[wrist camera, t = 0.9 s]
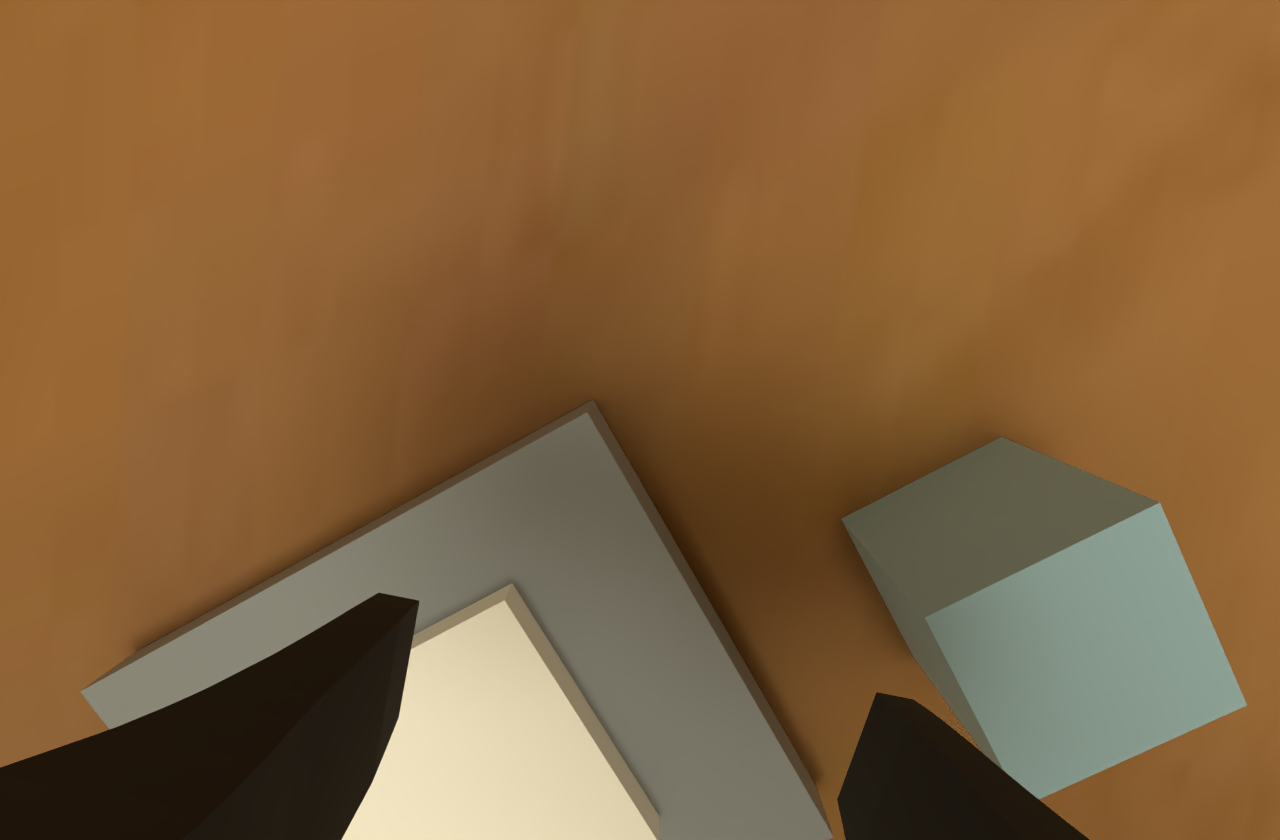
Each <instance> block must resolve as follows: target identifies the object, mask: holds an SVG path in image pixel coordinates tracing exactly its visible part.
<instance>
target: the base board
mask: <svg viewBox="0 0 1280 840" xmlns="http://www.w3.org/2000/svg"><path fill="white" fill-rule="evenodd" d="M377 593H384V594H389V595H394V596H399V597H404V598H409V599H414V600H419V607H418V613H417V618H416V624H415V629H414V635H413V641H412V646H411V652H410V657H409V663H408V668H407V674H406V680H405V685H404V691H403V696H402V702H401V707H400V713H399V718H398V721H397V723H396V726H395V728H394V731H393V733H392V736H391V738H390V741H389V743H388V746H387V748H386V751H385V753H384V755H383V758H382V760H381V763H380V765H379V767H378V770H377V772H376V775H375V777H374V779H373V782H372V784H371V786H370V788H369V790H368V791H367V793H366V795H365V797H364V799H363V801H362V803H361V804H360V806H359V808H358V810H357V812H356V814H355V816H354V817H353V819H352V821H351V823H350V825H349V827H348V829H347V830H346V832H345V834H344V836H343V838H342V840H829V839H831V838H833V834H832V831H831V828H830V825H829V822H828V819H827V816H826V813H825V811H824V808H823V805H822V802H821V799H820V796H819V793H818V790H817V787H816V785H815V783H814V782H813V780H812V778H811V776H810V775H809V773H808V771H807V769H806V768H805V766H804V764H803V763H802V761H801V759H800V757H799V756H798V754H797V752H796V750H795V749H794V747H793V745H792V743H791V742H790V740H789V738H788V736H787V735H786V733H785V731H784V730H783V728H782V726H781V724H780V723H779V721H778V719H777V717H776V716H775V714H774V712H773V710H772V709H771V707H770V705H769V704H768V702H767V700H766V698H765V697H764V695H763V693H762V691H761V690H760V688H759V686H758V684H757V683H756V681H755V679H754V677H753V676H752V674H751V672H750V671H749V669H748V667H747V665H746V664H745V662H744V660H743V658H742V657H741V655H740V653H739V651H738V650H737V648H736V646H735V645H734V643H733V641H732V639H731V638H730V636H729V634H728V632H727V631H726V629H725V627H724V625H723V624H722V622H721V620H720V618H719V617H718V615H717V613H716V612H715V610H714V608H713V606H712V605H711V603H710V601H709V599H708V598H707V596H706V594H705V592H704V591H703V589H702V587H701V586H700V584H699V582H698V580H697V579H696V577H695V575H694V573H693V572H692V570H691V568H690V566H689V565H688V563H687V561H686V559H685V558H684V556H683V554H682V553H681V551H680V549H679V547H678V546H677V544H676V542H675V540H674V539H673V537H672V535H671V533H670V532H669V530H668V528H667V527H666V525H665V523H664V521H663V520H662V518H661V516H660V514H659V513H658V511H657V509H656V507H655V506H654V504H653V502H652V500H651V499H650V497H649V495H648V494H647V492H646V490H645V488H644V487H643V485H642V483H641V481H640V480H639V478H638V476H637V474H636V473H635V471H634V469H633V468H632V466H631V464H630V462H629V461H628V459H627V457H626V455H625V454H624V452H623V450H622V448H621V447H620V445H619V443H618V441H617V440H616V438H615V436H614V435H613V433H612V431H611V429H610V428H609V426H608V424H607V422H606V421H605V419H604V417H603V415H602V414H601V412H600V410H599V409H598V407H597V405H596V403H595V402H594V400H591V401H589V402H587V403H586V404H584V405H582V406H580V407H578V408H576V409H575V410H573V411H571V412H569V413H567V414H566V415H564V416H562V417H560V418H558V419H557V420H555V421H553V422H551V423H549V424H548V425H546V426H544V427H542V428H540V429H538V430H537V431H535V432H533V433H531V434H529V435H528V436H526V437H524V438H522V439H520V440H519V441H517V442H515V443H513V444H511V445H510V446H508V447H506V448H504V449H502V450H500V451H499V452H497V453H495V454H493V455H491V456H490V457H488V458H486V459H484V460H482V461H481V462H479V463H477V464H475V465H473V466H472V467H470V468H468V469H466V470H464V471H462V472H461V473H459V474H457V475H455V476H453V477H452V478H450V479H448V480H446V481H444V482H443V483H441V484H439V485H437V486H435V487H434V488H432V489H430V490H428V491H426V492H424V493H423V494H421V495H419V496H417V497H415V498H414V499H412V500H410V501H408V502H406V503H405V504H403V505H401V506H399V507H397V508H396V509H394V510H392V511H390V512H388V513H386V514H385V515H383V516H381V517H379V518H377V519H376V520H374V521H372V522H370V523H368V524H367V525H365V526H363V527H361V528H359V529H358V530H356V531H354V532H352V533H350V534H349V535H347V536H345V537H343V538H341V539H339V540H338V541H336V542H334V543H332V544H330V545H329V546H327V547H325V548H323V549H321V550H320V551H318V552H316V553H314V554H312V555H311V556H309V557H307V558H305V559H303V560H301V561H300V562H298V563H296V564H294V565H292V566H291V567H289V568H287V569H285V570H283V571H282V572H280V573H278V574H276V575H274V576H273V577H271V578H269V579H267V580H265V581H263V582H262V583H260V584H258V585H256V586H254V587H253V588H251V589H249V590H247V591H245V592H244V593H242V594H240V595H238V596H236V597H235V598H233V599H231V600H229V601H227V602H225V603H224V604H222V605H220V606H218V607H216V608H215V609H213V610H211V611H209V612H207V613H206V614H204V615H202V616H200V617H198V618H197V619H195V620H193V621H191V622H189V623H187V624H186V625H184V626H182V627H180V628H178V629H177V630H175V631H173V632H171V633H169V634H168V635H166V636H164V637H162V638H160V639H159V640H157V641H155V642H153V643H151V644H149V645H148V646H146V647H144V648H142V649H140V650H139V651H137V652H135V653H133V654H132V655H131V656H129V657H128V658H126V659H125V660H124V661H122V662H121V663H119V664H118V665H117V666H115V667H114V668H112V669H111V670H110V671H108V672H107V673H105V674H104V675H103V676H101V677H100V678H98V679H97V680H96V681H94V682H93V683H91V684H90V685H89V686H87V687H86V688H84V689H83V690H82V691H80V692H81V693H82V695H83V696H84V697H85V699H86V700H87V701H88V702H89V704H90V705H91V706H92V708H93V709H94V710H95V711H96V713H97V714H98V715H99V716H100V718H101V719H102V720H103V722H104V723H105V724H106V725H107V727H108V728H109V729H112V728H115V727H118V726H120V725H123V724H125V723H127V722H130V721H132V720H135V719H137V718H140V717H142V716H144V715H147V714H149V713H152V712H154V711H157V710H159V709H161V708H164V707H166V706H169V705H171V704H173V703H175V702H178V701H180V700H182V699H184V698H187V697H189V696H191V695H193V694H195V693H198V692H200V691H202V690H204V689H206V688H208V687H210V686H212V685H214V684H216V683H218V682H220V681H222V680H224V679H226V678H228V677H230V676H232V675H234V674H236V673H238V672H240V671H242V670H244V669H246V668H247V667H249V666H251V665H253V664H255V663H257V662H259V661H261V660H263V659H265V658H267V657H269V656H271V655H273V654H275V653H276V652H278V651H280V650H282V649H283V648H285V647H287V646H289V645H290V644H292V643H294V642H296V641H297V640H299V639H301V638H303V637H304V636H306V635H308V634H310V633H311V632H313V631H315V630H316V629H318V628H320V627H321V626H323V625H325V624H326V623H328V622H330V621H332V620H333V619H335V618H336V617H338V616H340V615H341V614H343V613H345V612H346V611H348V610H350V609H351V608H353V607H355V606H357V605H358V604H360V603H362V602H363V601H365V600H367V599H368V598H370V597H372V596H374V595H375V594H377Z"/></svg>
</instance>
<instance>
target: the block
mask: <svg viewBox="0 0 1280 840" xmlns="http://www.w3.org/2000/svg"><path fill="white" fill-rule="evenodd" d="M841 520H842V522H843V524H844V526H845V528H846V530H847V532H848V534H849V536H850V538H851V539H852V541H853V543H854V545H855V547H856V549H857V551H858V553H859V555H860V557H861V559H862V560H863V562H864V564H865V566H866V568H867V570H868V572H869V574H870V576H871V578H872V579H873V581H874V583H875V585H876V587H877V589H878V591H879V593H880V595H881V597H882V598H883V600H884V602H885V604H886V606H887V608H888V610H889V612H890V614H891V616H892V618H893V619H894V621H895V623H896V625H897V627H898V629H899V631H900V633H901V635H902V637H903V638H904V640H905V642H906V644H907V646H908V648H909V650H910V652H911V654H912V656H913V657H914V659H915V660H916V662H917V663H918V664H919V666H920V667H921V669H922V670H923V671H924V673H925V674H926V675H927V677H928V678H929V680H930V681H931V682H932V684H933V685H934V686H935V688H936V689H937V690H938V692H939V693H940V695H941V696H942V697H943V699H944V700H945V701H946V703H947V704H948V706H949V707H950V708H951V710H952V711H953V712H954V714H955V715H956V717H957V718H958V719H959V721H960V722H961V723H962V725H963V726H964V728H965V729H966V730H967V732H968V733H969V734H970V736H971V737H972V739H973V740H974V741H975V743H976V744H977V745H978V747H979V748H980V749H981V751H982V752H983V754H984V755H985V756H987V757H988V758H989V759H990V760H991V761H993V762H994V763H995V764H996V765H997V766H999V767H1000V768H1001V769H1002V770H1003V771H1005V772H1006V773H1007V774H1008V775H1009V776H1011V777H1012V778H1013V779H1014V780H1015V781H1017V782H1018V783H1019V784H1020V785H1022V786H1023V787H1024V788H1025V789H1026V790H1028V791H1029V792H1030V793H1031V794H1033V795H1034V796H1035V797H1036V798H1037V799H1041V798H1043V797H1045V796H1048V795H1050V794H1052V793H1054V792H1056V791H1059V790H1061V789H1063V788H1065V787H1067V786H1070V785H1072V784H1074V783H1076V782H1079V781H1081V780H1083V779H1085V778H1087V777H1090V776H1092V775H1094V774H1096V773H1098V772H1101V771H1103V770H1105V769H1107V768H1109V767H1112V766H1114V765H1116V764H1118V763H1121V762H1123V761H1125V760H1127V759H1129V758H1132V757H1134V756H1136V755H1138V754H1140V753H1143V752H1145V751H1147V750H1149V749H1151V748H1154V747H1156V746H1158V745H1160V744H1163V743H1165V742H1167V741H1169V740H1171V739H1174V738H1176V737H1178V736H1180V735H1182V734H1185V733H1187V732H1189V731H1191V730H1193V729H1196V728H1198V727H1200V726H1202V725H1205V724H1207V723H1209V722H1211V721H1213V720H1216V719H1218V718H1220V717H1222V716H1224V715H1227V714H1229V713H1231V712H1233V711H1235V710H1238V709H1240V708H1242V707H1244V706H1247V704H1246V702H1245V699H1244V697H1243V695H1242V692H1241V690H1240V688H1239V685H1238V683H1237V681H1236V678H1235V676H1234V674H1233V671H1232V669H1231V667H1230V664H1229V662H1228V660H1227V658H1226V655H1225V653H1224V651H1223V648H1222V646H1221V644H1220V641H1219V639H1218V637H1217V634H1216V632H1215V630H1214V627H1213V625H1212V623H1211V620H1210V618H1209V616H1208V613H1207V611H1206V609H1205V606H1204V604H1203V602H1202V599H1201V597H1200V595H1199V592H1198V590H1197V588H1196V586H1195V583H1194V581H1193V579H1192V576H1191V574H1190V572H1189V569H1188V567H1187V565H1186V562H1185V560H1184V558H1183V555H1182V553H1181V551H1180V548H1179V546H1178V544H1177V541H1176V539H1175V537H1174V534H1173V532H1172V530H1171V527H1170V525H1169V523H1168V520H1167V518H1166V516H1165V514H1164V511H1163V509H1162V507H1161V504H1160V502H1157V501H1155V500H1152V499H1150V498H1148V497H1145V496H1143V495H1140V494H1138V493H1136V492H1133V491H1131V490H1128V489H1126V488H1124V487H1121V486H1119V485H1116V484H1114V483H1111V482H1109V481H1107V480H1104V479H1102V478H1099V477H1097V476H1095V475H1092V474H1090V473H1087V472H1085V471H1083V470H1080V469H1078V468H1075V467H1073V466H1071V465H1068V464H1066V463H1063V462H1061V461H1059V460H1056V459H1054V458H1051V457H1049V456H1047V455H1044V454H1042V453H1039V452H1037V451H1035V450H1032V449H1030V448H1027V447H1025V446H1022V445H1020V444H1018V443H1015V442H1013V441H1010V440H1008V439H1006V438H1003V437H1000V438H998V439H996V440H994V441H992V442H990V443H988V444H986V445H984V446H982V447H980V448H978V449H976V450H974V451H972V452H971V453H969V454H967V455H965V456H963V457H961V458H959V459H957V460H955V461H953V462H951V463H949V464H947V465H945V466H943V467H941V468H939V469H937V470H935V471H933V472H931V473H929V474H928V475H926V476H924V477H922V478H920V479H918V480H916V481H914V482H912V483H910V484H908V485H906V486H904V487H902V488H900V489H898V490H896V491H894V492H892V493H890V494H888V495H886V496H884V497H883V498H881V499H879V500H877V501H875V502H873V503H871V504H869V505H867V506H865V507H863V508H861V509H859V510H857V511H855V512H853V513H851V514H849V515H847V516H845V517H843V518H841Z"/></svg>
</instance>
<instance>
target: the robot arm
mask: <svg viewBox="0 0 1280 840" xmlns="http://www.w3.org/2000/svg"><path fill="white" fill-rule="evenodd" d="M418 607H419V600H414V599H409V598H404V597H399V596H394V595H389V594H384V593H377V594H375V595H374V596H372V597H370V598H368V599H367V600H365V601H363V602H362V603H360V604H358V605H357V606H355V607H353V608H351V609H350V610H348V611H346V612H345V613H343V614H341V615H340V616H338V617H336V618H335V619H333V620H332V621H330V622H328V623H326V624H325V625H323V626H321V627H320V628H318V629H316V630H315V631H313V632H311V633H310V634H308V635H306V636H304V637H303V638H301V639H299V640H297V641H296V642H294V643H292V644H290V645H289V646H287V647H285V648H283V649H282V650H280V651H278V652H276V653H275V654H273V655H271V656H269V657H267V658H265V659H263V660H261V661H259V662H257V663H255V664H253V665H251V666H249V667H247V668H246V669H244V670H242V671H240V672H238V673H236V674H234V675H232V676H230V677H228V678H226V679H224V680H222V681H220V682H218V683H216V684H214V685H212V686H210V687H208V688H206V689H204V690H202V691H200V692H198V693H195V694H193V695H191V696H189V697H187V698H184V699H182V700H180V701H178V702H175V703H173V704H171V705H169V706H166V707H164V708H161V709H159V710H157V711H154V712H152V713H149V714H147V715H144V716H142V717H140V718H137V719H135V720H132V721H130V722H127V723H125V724H123V725H120V726H118V727H115V728H112V729H110V730H107V731H105V732H102V733H99V734H96V735H94V736H91V737H88V738H85V739H82V740H79V741H76V742H73V743H70V744H68V745H65V746H62V747H59V748H56V749H53V750H50V751H47V752H44V753H42V754H39V755H36V756H33V757H30V758H27V759H24V760H21V761H18V762H15V763H13V764H10V765H7V766H4V767H1V768H0V840H342V838H343V836H344V834H345V832H346V830H347V829H348V827H349V825H350V823H351V821H352V819H353V817H354V816H355V814H356V812H357V810H358V808H359V806H360V804H361V803H362V801H363V799H364V797H365V795H366V793H367V791H368V790H369V788H370V786H371V784H372V782H373V779H374V777H375V775H376V772H377V770H378V767H379V765H380V763H381V760H382V758H383V755H384V753H385V751H386V748H387V746H388V743H389V741H390V738H391V736H392V733H393V731H394V728H395V726H396V723H397V721H398V718H399V713H400V707H401V702H402V696H403V691H404V685H405V680H406V674H407V668H408V663H409V657H410V652H411V646H412V641H413V635H414V629H415V624H416V618H417V613H418ZM837 800H838V804H839V809H840V814H841V819H842V824H843V828H844V833H845V838H846V840H1089V839H1088V838H1087V837H1085V836H1084V835H1083V834H1081V833H1080V832H1079V831H1078V830H1076V829H1075V828H1074V827H1072V826H1071V825H1070V824H1069V823H1067V822H1066V821H1065V820H1064V819H1062V818H1061V817H1060V816H1059V815H1057V814H1056V813H1055V812H1054V811H1052V810H1051V809H1050V808H1049V807H1047V806H1046V805H1045V804H1044V803H1042V802H1041V801H1040V800H1039V799H1037V798H1036V797H1035V796H1034V795H1033V794H1031V793H1030V792H1029V791H1028V790H1026V789H1025V788H1024V787H1023V786H1022V785H1020V784H1019V783H1018V782H1017V781H1015V780H1014V779H1013V778H1012V777H1011V776H1009V775H1008V774H1007V773H1006V772H1005V771H1003V770H1002V769H1001V768H1000V767H999V766H997V765H996V764H995V763H994V762H993V761H991V760H990V759H989V758H988V757H987V756H985V755H984V754H983V753H982V752H981V751H979V750H978V749H977V748H976V747H974V746H973V745H972V744H971V743H970V742H968V741H967V740H966V739H965V738H964V737H962V736H961V735H960V734H959V733H957V732H956V731H955V730H954V729H952V728H951V727H950V726H949V725H947V724H946V723H945V722H944V721H942V720H941V719H940V718H938V717H937V716H936V715H935V714H933V713H932V712H930V711H929V710H928V709H926V708H925V707H923V706H922V705H921V704H919V703H918V702H916V701H915V700H912V699H907V698H902V697H897V696H892V695H887V694H882V693H876V695H875V698H874V701H873V704H872V706H871V709H870V712H869V715H868V717H867V720H866V723H865V725H864V728H863V731H862V734H861V736H860V739H859V742H858V745H857V747H856V750H855V753H854V756H853V758H852V761H851V764H850V767H849V769H848V772H847V775H846V778H845V780H844V783H843V786H842V788H841V791H840V794H839V797H838V799H837Z"/></svg>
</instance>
